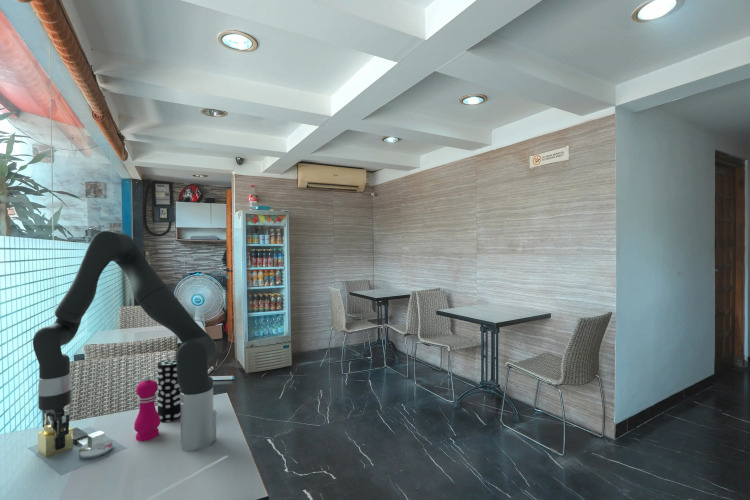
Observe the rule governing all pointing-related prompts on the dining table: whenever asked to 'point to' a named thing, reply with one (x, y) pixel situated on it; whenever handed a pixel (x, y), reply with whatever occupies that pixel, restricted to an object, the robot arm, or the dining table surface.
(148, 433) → the pepper mill
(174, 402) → the spotted tube
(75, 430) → the metal ladle
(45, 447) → the brass knob block
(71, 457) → the mat
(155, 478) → the dining table surface
